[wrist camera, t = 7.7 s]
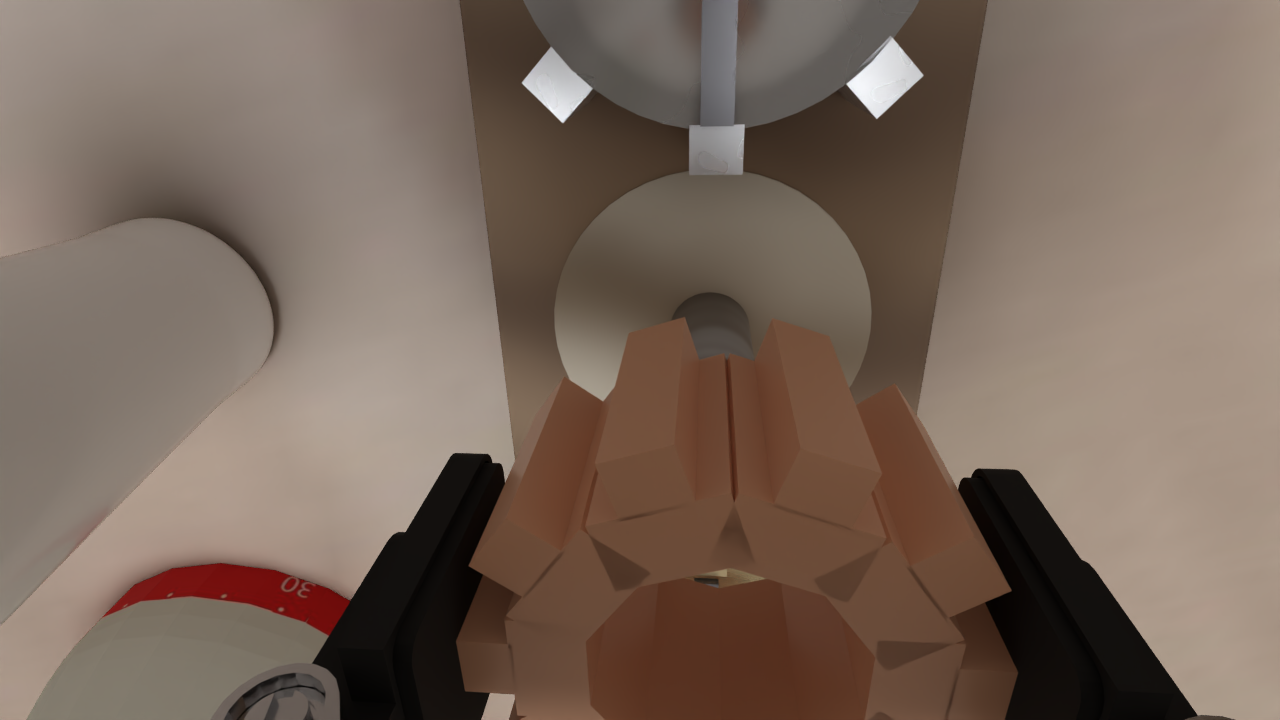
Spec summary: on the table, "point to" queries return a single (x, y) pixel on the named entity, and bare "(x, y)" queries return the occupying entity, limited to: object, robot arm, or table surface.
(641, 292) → the gear board
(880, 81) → the gear
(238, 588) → the kitchen timer
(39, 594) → the table surface
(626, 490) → the idler gear
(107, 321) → the drinking glass
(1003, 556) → the robot arm
